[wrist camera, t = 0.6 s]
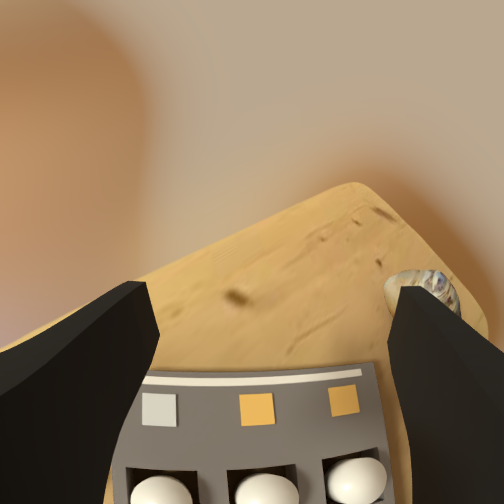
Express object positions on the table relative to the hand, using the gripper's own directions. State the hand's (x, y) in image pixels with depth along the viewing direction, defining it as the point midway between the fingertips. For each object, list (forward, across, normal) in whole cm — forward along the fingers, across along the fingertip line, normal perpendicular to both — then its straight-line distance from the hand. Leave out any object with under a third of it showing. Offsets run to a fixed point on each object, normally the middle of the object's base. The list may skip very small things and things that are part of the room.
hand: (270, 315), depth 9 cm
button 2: (-1, +8, +17) cm, 19 cm away
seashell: (+20, -13, +16) cm, 29 cm away
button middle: (+1, +1, +19) cm, 19 cm away
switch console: (+3, +2, +19) cm, 19 cm away
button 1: (+3, -6, +20) cm, 21 cm away
